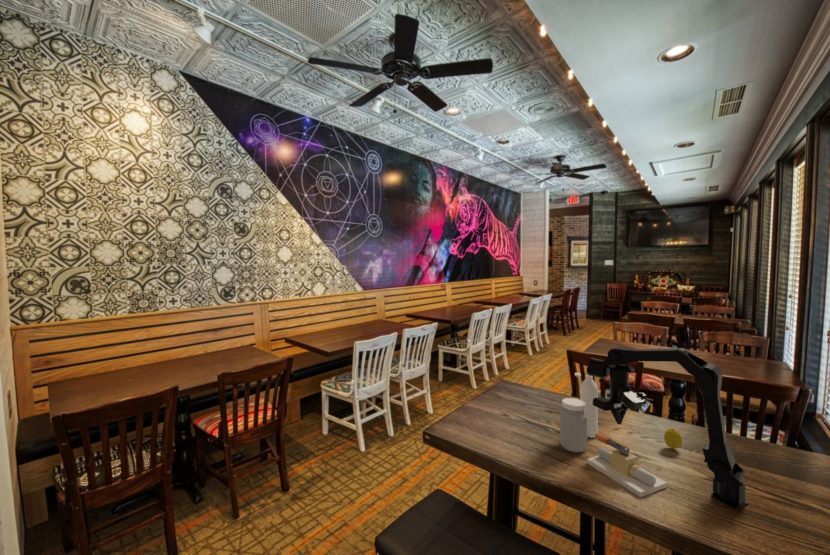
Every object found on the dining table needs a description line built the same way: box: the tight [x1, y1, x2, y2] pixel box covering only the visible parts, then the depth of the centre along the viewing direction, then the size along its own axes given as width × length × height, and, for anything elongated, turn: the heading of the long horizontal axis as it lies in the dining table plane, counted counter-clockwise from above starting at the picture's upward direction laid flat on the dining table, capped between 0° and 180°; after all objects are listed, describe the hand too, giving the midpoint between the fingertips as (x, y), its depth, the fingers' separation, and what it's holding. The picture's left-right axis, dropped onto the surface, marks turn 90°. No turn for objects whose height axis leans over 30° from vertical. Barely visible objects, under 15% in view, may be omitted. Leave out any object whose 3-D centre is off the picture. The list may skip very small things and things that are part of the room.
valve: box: [586, 446, 668, 498], centre depth 119 cm, size 20×12×7 cm, turn 22°
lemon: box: [663, 427, 683, 450], centre depth 134 cm, size 6×6×8 cm
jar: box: [559, 397, 588, 454], centre depth 136 cm, size 10×10×18 cm
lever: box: [594, 432, 630, 456], centre depth 123 cm, size 12×3×2 cm, turn 21°
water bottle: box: [574, 372, 599, 439], centre depth 147 cm, size 9×6×25 cm
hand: (618, 423), depth 128 cm, fingers closed
